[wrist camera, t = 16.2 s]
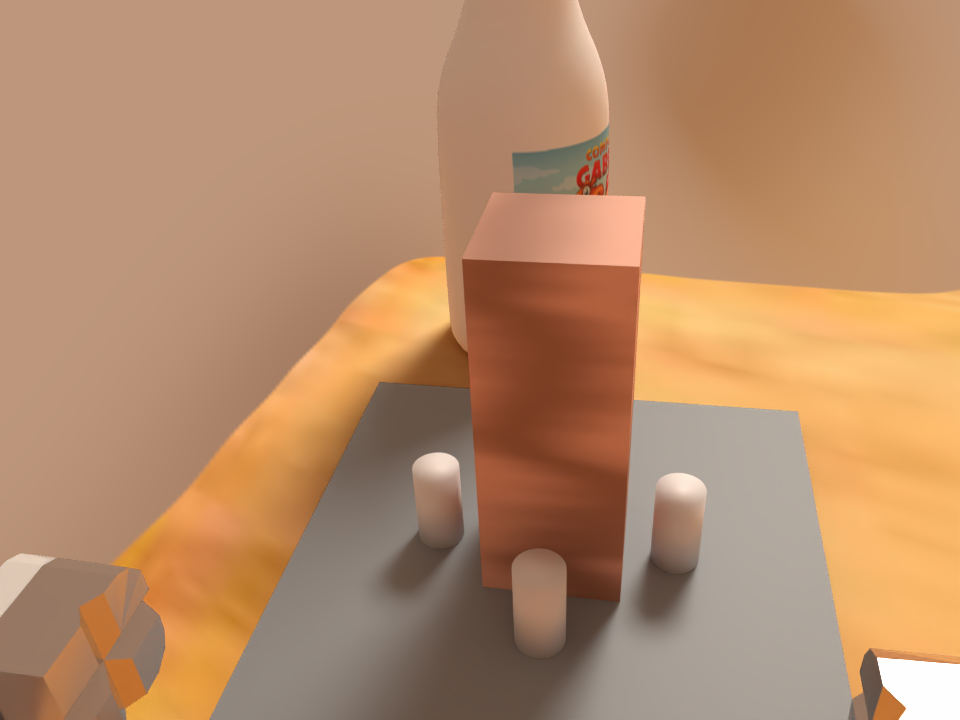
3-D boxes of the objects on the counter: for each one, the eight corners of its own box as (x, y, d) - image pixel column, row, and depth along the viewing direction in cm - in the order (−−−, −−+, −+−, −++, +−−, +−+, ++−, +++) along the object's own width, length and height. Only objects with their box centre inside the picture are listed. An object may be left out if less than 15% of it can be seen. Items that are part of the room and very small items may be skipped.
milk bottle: (457, 380, 41) (423, -98, 30) (445, 302, 48) (413, -115, 37) (619, 364, 42) (642, -112, 31) (585, 289, 48) (594, -127, 37)
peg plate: (794, 430, 37) (809, 350, 35) (871, 864, 22) (905, 771, 20) (381, 400, 40) (371, 324, 38) (207, 759, 25) (174, 669, 23)
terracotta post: (627, 507, 32) (645, 196, 25) (620, 602, 28) (639, 267, 22) (504, 495, 33) (492, 192, 26) (482, 586, 29) (461, 259, 23)
